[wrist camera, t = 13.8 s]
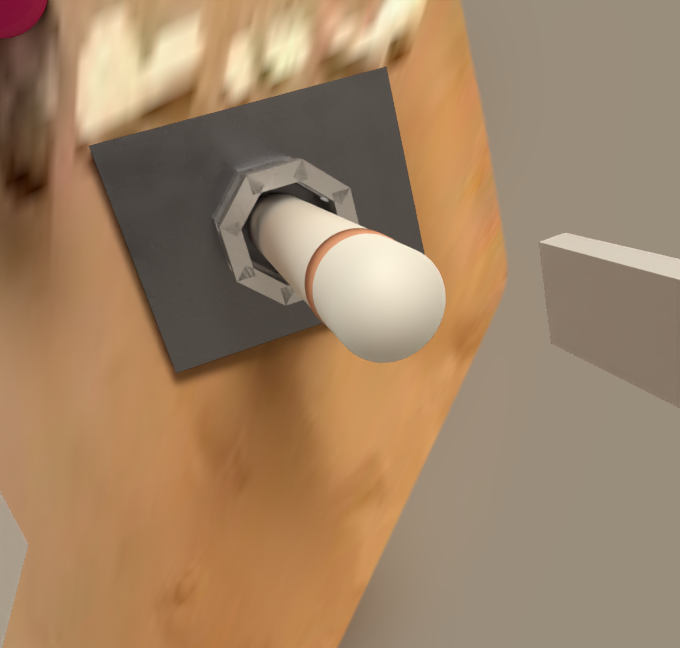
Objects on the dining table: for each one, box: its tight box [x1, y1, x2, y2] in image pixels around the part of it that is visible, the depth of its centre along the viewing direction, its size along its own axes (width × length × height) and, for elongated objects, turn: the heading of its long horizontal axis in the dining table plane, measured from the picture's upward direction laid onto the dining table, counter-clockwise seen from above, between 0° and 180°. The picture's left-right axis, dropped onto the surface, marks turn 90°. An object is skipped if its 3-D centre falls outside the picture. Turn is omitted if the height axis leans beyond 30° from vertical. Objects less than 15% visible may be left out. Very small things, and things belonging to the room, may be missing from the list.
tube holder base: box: [89, 67, 425, 373], centre depth 41 cm, size 20×16×6 cm
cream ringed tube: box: [247, 192, 445, 363], centre depth 32 cm, size 4×4×22 cm
